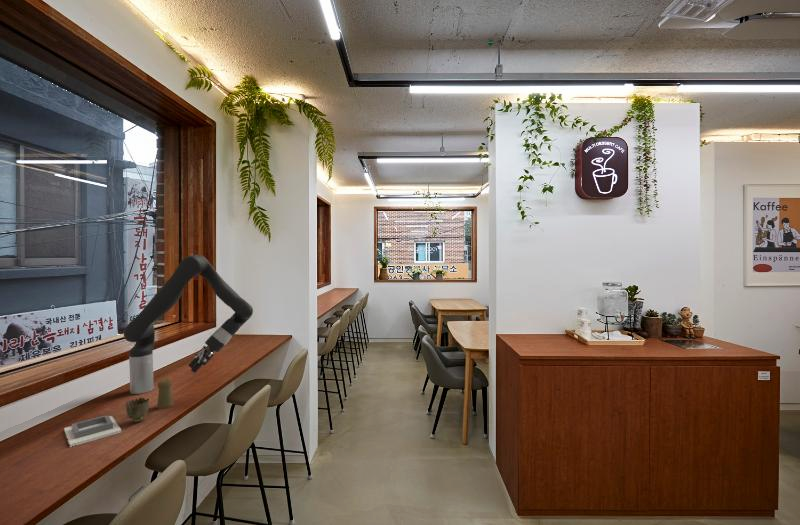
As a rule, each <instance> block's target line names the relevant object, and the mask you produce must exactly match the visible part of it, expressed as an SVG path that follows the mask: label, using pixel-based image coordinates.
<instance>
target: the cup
mask: <svg viewBox="0 0 800 525" xmlns="http://www.w3.org/2000/svg"><path fill="white" fill-rule="evenodd" d="M149 402H150V398H148V397H147V398H146V399H145V397H143V398H142V397H139V398H137V397H136V398H135V400H134V399H131V400H129V401H126V402H125V409H126V414H127V417H128V418H129V419H131V422H132V423H134V424H137V423H140V422H143V421H144V419H145V417H144V416H146V415H147V413H148V411H149V404H150V403H149Z"/></svg>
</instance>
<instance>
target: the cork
mask: <svg viewBox="0 0 800 525" xmlns="http://www.w3.org/2000/svg"><path fill="white" fill-rule="evenodd" d="M172 385H173V383H172V380H171V379H162V380H159V381H158V382H157V389H158V395H157V402H156V403H157V406H156V409H158V410H163V408H165V409H168V408H167V407H169V408H171V407H173V406H174V405H173V404H174V400H173V393H172V389H171V387H172ZM172 405H173V406H172ZM170 406H171V407H170Z"/></svg>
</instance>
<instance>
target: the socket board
mask: <svg viewBox="0 0 800 525" xmlns="http://www.w3.org/2000/svg"><path fill="white" fill-rule="evenodd" d="M63 431H64V435H65V437H66V440H67V439H68V440H67V443H68V445H70V446H69V448H73V447H76V446H80V445H83V444H86V443H90V442H93V441H97V440H101V439H104V438H106V437H111V436H115V435H118V434H120V433H122V428H121V427H120V426H119V424H118V423H117V422H116V420H115V419H114V417H113V415H110V416H109V415H108V414H107V415H102V416H99V417H95V418H90V419H86V420H82V421H78V422H75V423H72V424H71V426H67V427H64V430H63ZM75 445H76V446H75ZM72 446H73V447H72Z"/></svg>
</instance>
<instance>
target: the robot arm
mask: <svg viewBox="0 0 800 525" xmlns="http://www.w3.org/2000/svg"><path fill="white" fill-rule="evenodd" d="M198 275H199V276H201V277H202V278H203V279H205V280H206V281H207V283H208V284H209V285H210V287H211V289H212V290H213V292H214V293H215V296H217V297H218V299H219V300H221V301H222V302H223V303H224V304H225V305H226V306H228V307H229V308H230V309H231V310H232V311H233V312H234V313H233V314H232V315H231V316H230V317H229V318H227V319H226V320H225V321H224V322H223V324H222V325H220V326H219V327H218V328H217V329H216V330H215V331H214V332H213V333H212V334H211V335H210V336H209V337H208V338H207V340H205V342H204V344H205V345H204V346H203V347H202V348H201V349H200V350H199V351H198V352H197V353H196V354H195V355H194V358H193V359H192V360H191V362H190V363H189V364H188V365H187V366H188V367H190V368H191V370H190V371H192V372H193V373H196V372H197V371H199V369H200V368H201V367H203V366H206V364H208V362H209V361H210V360H211V359H212V358H213V357H214V356H215V353H214V352H216V353H219V352H220V351H222V349H223V348H224V347H225V346H226V345H227V344H228V343H229V342H230V340H231V339H232V338H233V336H234V335H236V333H237V332H238V331H239V329H241V327H242V326H243V325H244V324H246V322H247V321H249V319H250V318H252V316H253V314H254V309H253V306H252V305H251V304H250V303H248V301H246V300H245V299H244V298H242V297H241V296H240V294H238V293H237V292H236V290H234V289H233V288H232V287H231V286H230V285H229V284H228V283H227V282H226V281H225V280H224V279H223V278H222V277H221V276H220V274H219V273H218V272H217V270H215V268H214V267H213V266H212V264H211V263H210V261H209V260H208V259H207V258H206V257H205V256H204V255H202V254H191V255H188V256H186V257H184V258H183V259H181V261H180V262H179V264H178V266H177V268H176V269H175V270H174V272H173V273H172V275H171V276H170V277H169V278H168V280H167V281H166V282H165V283H163V285H162V286H161V287H160V288H159V290H158V291H157V292H156V293H155V294H154V295H153V297H152V298H151V299H150V301H149V302H148V303H147V304H146V305H145V307H144V308H143V309H142V310H141V311H140V312H139V313H138V314H137V316H135V317H134V318H133V319H132V320H131V321H130V322H129V323H128V324H126V326H125V328H124V331H123V337H124V339H125V340H126V341H127V342H129V343H135V344H134V346H133V347H131V348H130V349H129V351H128V359H129V360H128V361H129V365H128V366H129V387H130V388H129V391H130V392H129V393H130V394H132V395H138V394H145V393H149V392H151V391H153V390H154V388H155V387H154V359H153V358H154V357H153V356H154V355H153V354H154V353H153V350H154V348H155V341H156V340H155V337H156V336H155V335H156V334H155V331H156V330H155V326H154V324H153V323H154V322H155V321H156V320H158V319H159V318H161V317H163V316H164V315H165V314H166V313H168V312H169V311H170V310H172V309H173V308H174V306H175V305H176V304H177V302H178V301H179V300H180V298H181V296H182V294H183V291H184V288H185V287H186V285H187V284H188V283H189V282H190V281H191V280H193V278H194V277H195V276H198Z"/></svg>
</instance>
